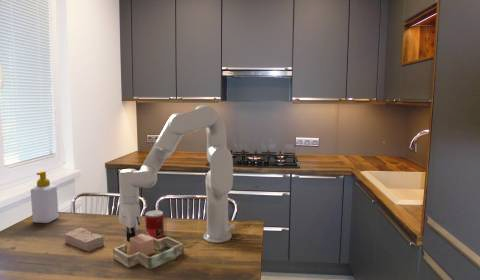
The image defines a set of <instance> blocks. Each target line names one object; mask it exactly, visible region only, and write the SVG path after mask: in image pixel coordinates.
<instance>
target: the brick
mask: <svg viewBox="0 0 480 280" xmlns="http://www.w3.org/2000/svg"><path fill="white" fill-rule="evenodd" d="M104 241H105V240H104V235H101V234H98V233H93V232H91V231H89V230H87V229H86V228H83V227H79V228H75V229H73V230H71V231H68V232H67V233H64V242H65V244H68V245H69V246H72V247H75V248H78V249H79V250H82V251H86V252H90V251H93V250H95V249H97V248H100V247H103V246H104Z"/></svg>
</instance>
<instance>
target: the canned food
mask: <svg viewBox="0 0 480 280" xmlns="http://www.w3.org/2000/svg"><path fill="white" fill-rule="evenodd" d="M144 215H145V218H144V219H145V235H146V236H148V235H149V236H151V237H153V238H156V239H158V240H159V239H162V238H164V234H165V233H164V227H165V226H164V212H163V211H162V210H158V209H157V210H156V209H155V210H149V211H146V212H145V214H144Z"/></svg>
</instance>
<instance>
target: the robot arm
mask: <svg viewBox="0 0 480 280" xmlns="http://www.w3.org/2000/svg"><path fill="white" fill-rule="evenodd" d="M203 129H205V132H206V159H207V161H208V164H209V166H210V167H209V169H210V170H208V172H207V173H206V175H205V191H206V231H205V232H204V233H203V236H202V238H203V239H204V240H205V241H206V242H208V243H214V244H216V243H217V244H218V243H219V244H220V243H221V244H222V243H225V242H228V241H230V240H231V239H232V233H231V232H230V231H231V230H234V229H235V228H236V225H235V224H230V225H229V193H230V192H231V190H232V189H233V184H234V159H233V154H232V153H231V151H230V150H229V148H228V146H227V143H228V142H227V130H226V124H225V122H224V119H223V117H222V116H221V115H220V113H219V112H218V111H217V110H216V109H215V108H214V106H211V105H207V104H200V105H198V106H196V108H194V109H192V110H189V111H185V112H182V113H180V112H175V113H173V114H171V115H170V116H169V118H168V120H167V121H166V123H165V125H164V126H163V129H162V130H161V132H160V133H159V136H158V137H157V138H156V141H155V142H154V144H153V145H152V148H151V149H150V151H149V153H148V155H147V156H146V158H145V160H144V161H143V163H142V165H141V167H140V169H139V170H137V169H135V168H125V169H124V168H123V169H121V170H120V171H119V174H118V181H119V185H118V186H119V206H118V223H119V224H120V225H123V226H124V227H125V228H124V229H125V232H126V242H128V243H130V238H131V237H134V236H136V232H137V231H139V229H140V227H139V226H140V225H141V224H142V218H141V216H142V215H141V207H140V191H139V190H140V189H139V188H145V189H146V188H147V189H148V188H149V189H150V188H152V187H154V186H155V185H156V183H157V181H158V173H159V171H160V169H161V167H162V166H163V164H164V163H165V161H166V160H167V159H168V158H170V156H171V155H172V154H173V153H174V152H175V150H176V149H177V146H178V145H179V143H180V141H181V139H183V136H184V135H188V134H190V133H194V132H197V131H199V130H203Z"/></svg>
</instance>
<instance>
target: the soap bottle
mask: <svg viewBox="0 0 480 280" xmlns="http://www.w3.org/2000/svg"><path fill="white" fill-rule="evenodd" d="M36 175H37V176H39V178H38V179H37V181H36V186H34V187H32V188H31V189H30V201H31V212H32V213H31V214H32V222H33V223H37V224H38V223H40V224H41V223H42V224H49V223H51V222H52V221H55V220H56V219H59V217H60V216H59V204H58V188H57V185H55V184H51V181H50V179H49V178H47V173H46V171H45V170H42V171H39V172H36Z"/></svg>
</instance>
